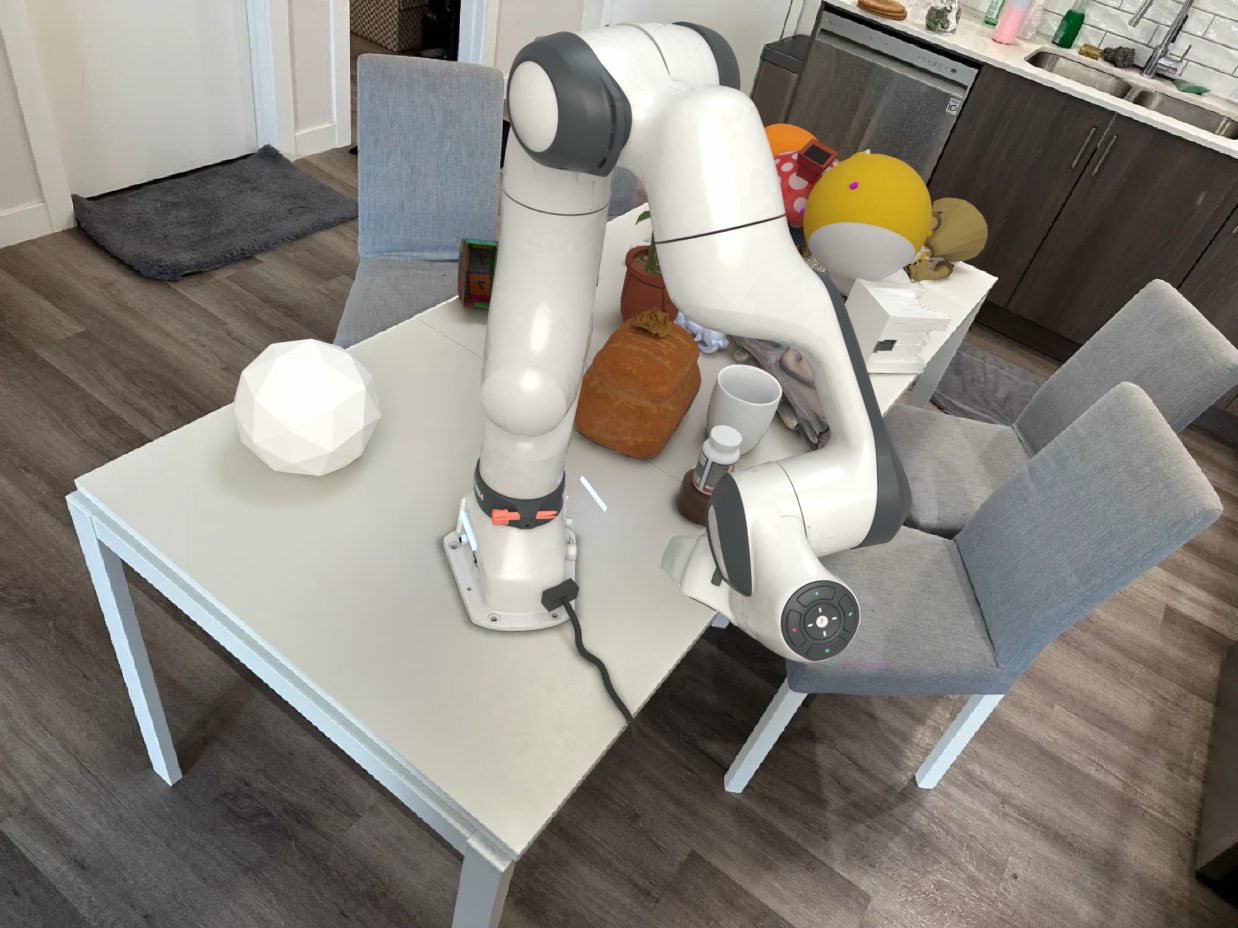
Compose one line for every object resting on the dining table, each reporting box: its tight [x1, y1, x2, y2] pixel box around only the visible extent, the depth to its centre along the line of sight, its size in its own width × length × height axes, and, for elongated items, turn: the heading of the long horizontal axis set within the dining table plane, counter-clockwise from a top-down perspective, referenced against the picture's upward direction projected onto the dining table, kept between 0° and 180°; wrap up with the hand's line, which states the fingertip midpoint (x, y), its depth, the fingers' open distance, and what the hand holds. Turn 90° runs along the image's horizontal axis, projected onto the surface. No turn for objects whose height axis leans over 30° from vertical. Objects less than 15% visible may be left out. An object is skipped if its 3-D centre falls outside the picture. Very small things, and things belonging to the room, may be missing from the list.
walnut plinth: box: [675, 467, 711, 526], centre depth 132 cm, size 8×8×5 cm
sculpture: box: [733, 337, 831, 452], centre depth 153 cm, size 12×12×28 cm
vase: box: [764, 123, 819, 157], centre depth 209 cm, size 17×17×25 cm
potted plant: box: [619, 210, 679, 323], centre depth 157 cm, size 17×16×35 cm
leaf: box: [631, 306, 672, 337], centre depth 138 cm, size 6×7×2 cm
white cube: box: [844, 278, 952, 374], centre depth 175 cm, size 14×14×15 cm
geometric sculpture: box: [232, 338, 382, 477], centre depth 120 cm, size 19×20×20 cm
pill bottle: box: [693, 425, 742, 495], centre depth 127 cm, size 6×6×10 cm
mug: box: [706, 364, 782, 456], centre depth 144 cm, size 15×11×13 cm
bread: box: [574, 317, 702, 460], centre depth 141 cm, size 18×22×17 cm
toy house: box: [773, 138, 841, 256], centre depth 193 cm, size 22×22×30 cm
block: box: [457, 237, 600, 310], centre depth 164 cm, size 25×17×14 cm
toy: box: [800, 148, 933, 281], centre depth 174 cm, size 26×26×30 cm
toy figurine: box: [674, 311, 731, 355], centre depth 168 cm, size 7×6×12 cm
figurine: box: [903, 197, 989, 283], centre depth 209 cm, size 17×13×30 cm
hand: (734, 579), depth 100 cm, fingers open, 8 cm apart
